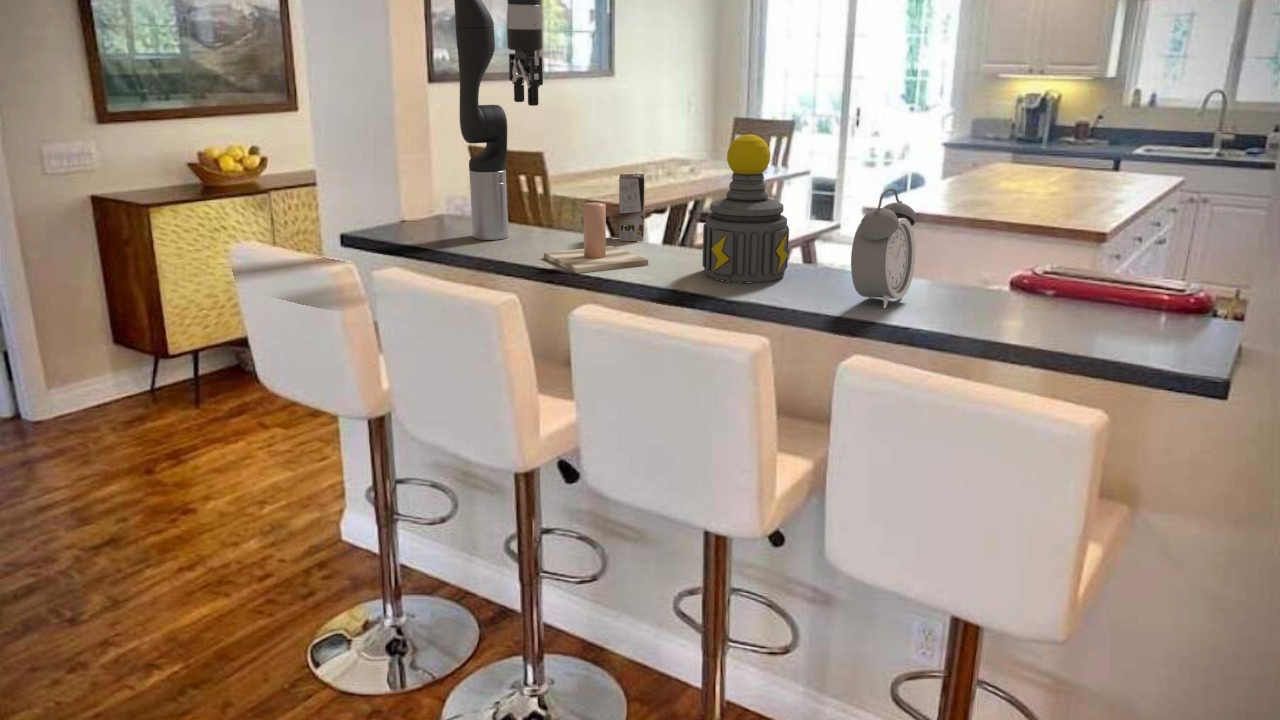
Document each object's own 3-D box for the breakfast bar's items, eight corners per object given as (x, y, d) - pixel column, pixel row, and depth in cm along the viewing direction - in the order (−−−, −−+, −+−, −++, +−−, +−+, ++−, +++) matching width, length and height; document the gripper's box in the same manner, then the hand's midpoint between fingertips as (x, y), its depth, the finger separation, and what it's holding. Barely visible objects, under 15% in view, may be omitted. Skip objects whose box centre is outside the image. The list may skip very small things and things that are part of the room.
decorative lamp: (803, 273, 210) (811, 133, 201) (757, 289, 196) (763, 140, 187) (732, 261, 222) (737, 128, 212) (683, 275, 208) (686, 134, 198)
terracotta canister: (580, 255, 221) (580, 203, 218) (599, 253, 224) (599, 201, 220) (589, 259, 217) (590, 206, 214) (609, 257, 220) (609, 205, 216)
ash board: (543, 257, 224) (543, 252, 224) (611, 250, 233) (611, 245, 232) (576, 273, 209) (576, 267, 209) (648, 264, 218) (648, 259, 217)
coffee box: (643, 241, 244) (644, 177, 239) (618, 241, 244) (618, 177, 239) (644, 234, 252) (644, 173, 247) (620, 234, 252) (619, 173, 247)
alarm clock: (886, 314, 178) (897, 196, 171) (842, 307, 183) (851, 192, 176) (915, 296, 191) (926, 185, 184) (874, 290, 196) (882, 182, 189)
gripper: (553, 28, 204) (554, 106, 209) (528, 26, 216) (530, 100, 221) (519, 28, 200) (521, 107, 206) (496, 25, 212) (499, 101, 218)
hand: (526, 103), depth 214 cm, fingers open, 8 cm apart
